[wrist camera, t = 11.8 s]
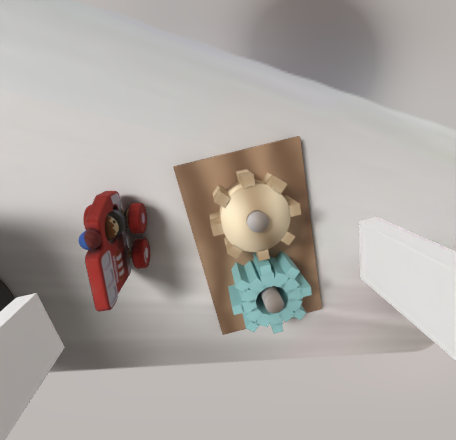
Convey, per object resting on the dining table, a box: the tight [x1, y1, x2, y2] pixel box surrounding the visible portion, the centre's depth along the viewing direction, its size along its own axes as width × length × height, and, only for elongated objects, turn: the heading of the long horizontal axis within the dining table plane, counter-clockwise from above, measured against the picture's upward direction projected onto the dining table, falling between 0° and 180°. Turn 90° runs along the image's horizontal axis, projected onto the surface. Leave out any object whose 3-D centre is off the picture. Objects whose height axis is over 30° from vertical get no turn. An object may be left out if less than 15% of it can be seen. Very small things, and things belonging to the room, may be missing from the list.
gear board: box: [173, 136, 322, 335], centre depth 35 cm, size 17×28×7 cm, turn 13°
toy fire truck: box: [79, 191, 150, 311], centre depth 31 cm, size 7×12×10 cm, turn 0°
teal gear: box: [228, 251, 312, 333], centre depth 37 cm, size 11×11×5 cm
